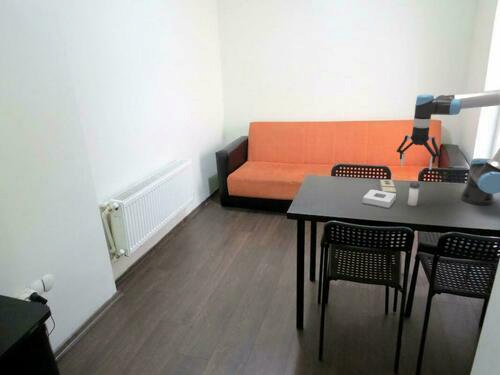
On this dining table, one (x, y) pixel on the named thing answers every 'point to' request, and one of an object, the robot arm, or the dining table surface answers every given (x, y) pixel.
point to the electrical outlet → (387, 186)
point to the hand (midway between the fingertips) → (416, 167)
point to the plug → (413, 193)
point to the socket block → (379, 198)
